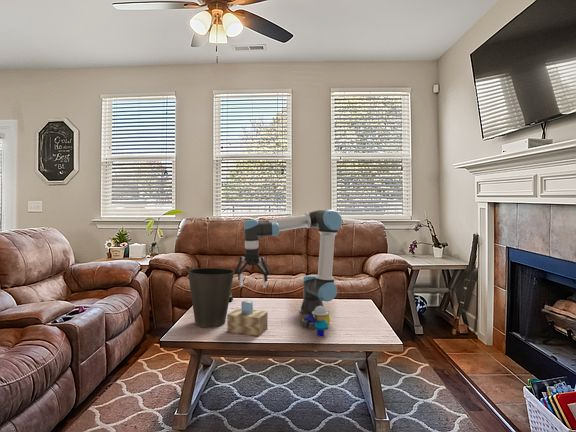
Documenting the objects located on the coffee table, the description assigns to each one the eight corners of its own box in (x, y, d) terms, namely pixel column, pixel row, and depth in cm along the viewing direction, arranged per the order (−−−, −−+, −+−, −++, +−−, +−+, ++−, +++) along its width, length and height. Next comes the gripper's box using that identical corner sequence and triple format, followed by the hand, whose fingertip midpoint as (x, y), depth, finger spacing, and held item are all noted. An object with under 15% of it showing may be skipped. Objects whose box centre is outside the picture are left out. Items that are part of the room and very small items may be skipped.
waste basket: (239, 319, 215) (239, 268, 214) (227, 331, 195) (226, 275, 194) (197, 316, 221) (196, 267, 220) (180, 327, 201) (180, 273, 200)
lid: (267, 312, 198) (267, 310, 198) (258, 319, 187) (258, 317, 187) (237, 309, 204) (237, 307, 204) (227, 315, 192) (227, 314, 192)
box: (267, 329, 198) (267, 312, 198) (258, 336, 187) (258, 319, 187) (237, 325, 204) (237, 309, 204) (227, 332, 192) (227, 315, 192)
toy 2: (310, 331, 194) (310, 303, 194) (326, 331, 195) (327, 303, 194) (313, 337, 186) (313, 308, 185) (330, 337, 186) (330, 308, 186)
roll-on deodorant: (254, 312, 197) (254, 300, 197) (250, 315, 191) (249, 303, 191) (244, 311, 199) (244, 299, 198) (239, 314, 193) (239, 302, 193)
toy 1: (318, 335, 195) (334, 323, 206) (316, 323, 194) (333, 312, 205) (299, 329, 205) (315, 318, 216) (297, 317, 204) (314, 307, 215)
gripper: (275, 247, 199) (276, 286, 200) (234, 246, 206) (235, 284, 207) (270, 249, 192) (272, 289, 193) (227, 248, 199) (229, 287, 200)
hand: (252, 286), depth 200 cm, fingers open, 13 cm apart
